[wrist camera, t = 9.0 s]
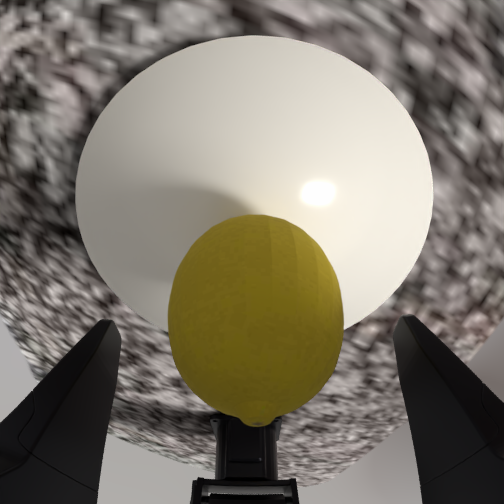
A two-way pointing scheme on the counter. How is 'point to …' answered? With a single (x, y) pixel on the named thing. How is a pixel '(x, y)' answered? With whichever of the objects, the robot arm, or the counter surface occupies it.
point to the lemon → (255, 318)
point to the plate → (253, 167)
